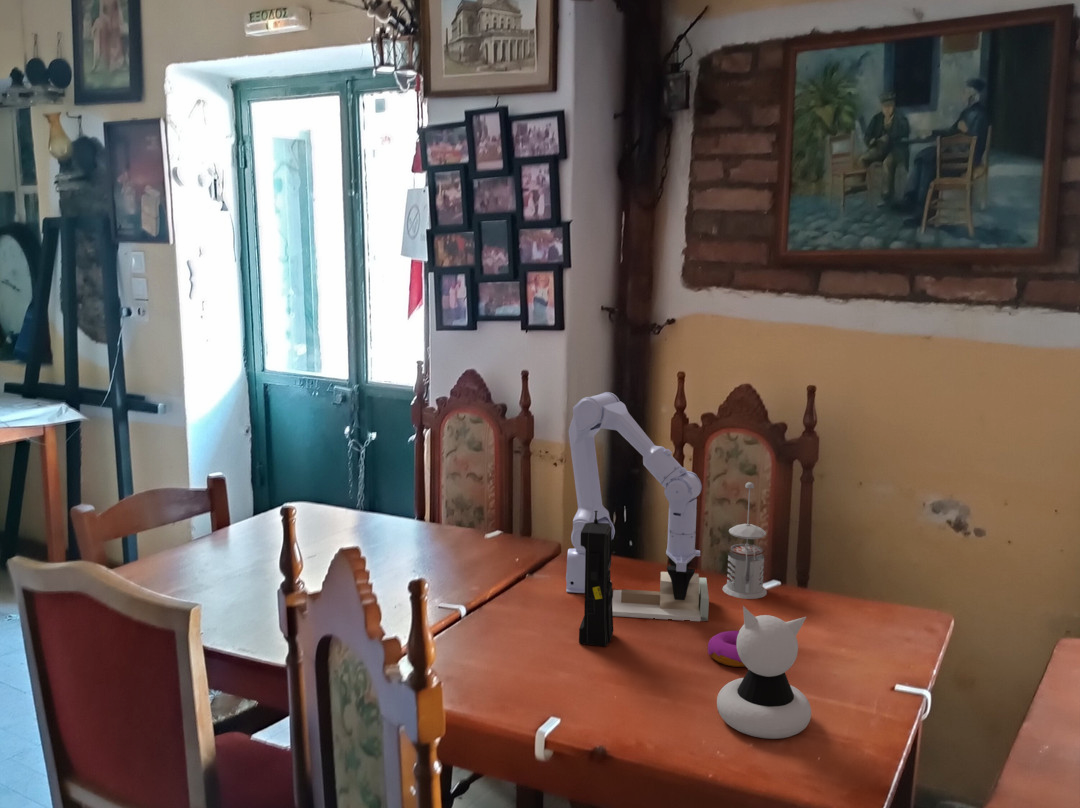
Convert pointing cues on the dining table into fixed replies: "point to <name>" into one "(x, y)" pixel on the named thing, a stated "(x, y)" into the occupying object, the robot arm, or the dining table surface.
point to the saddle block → (668, 597)
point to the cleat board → (657, 605)
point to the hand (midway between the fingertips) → (679, 592)
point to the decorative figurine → (765, 681)
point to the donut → (725, 649)
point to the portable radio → (597, 584)
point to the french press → (746, 562)
